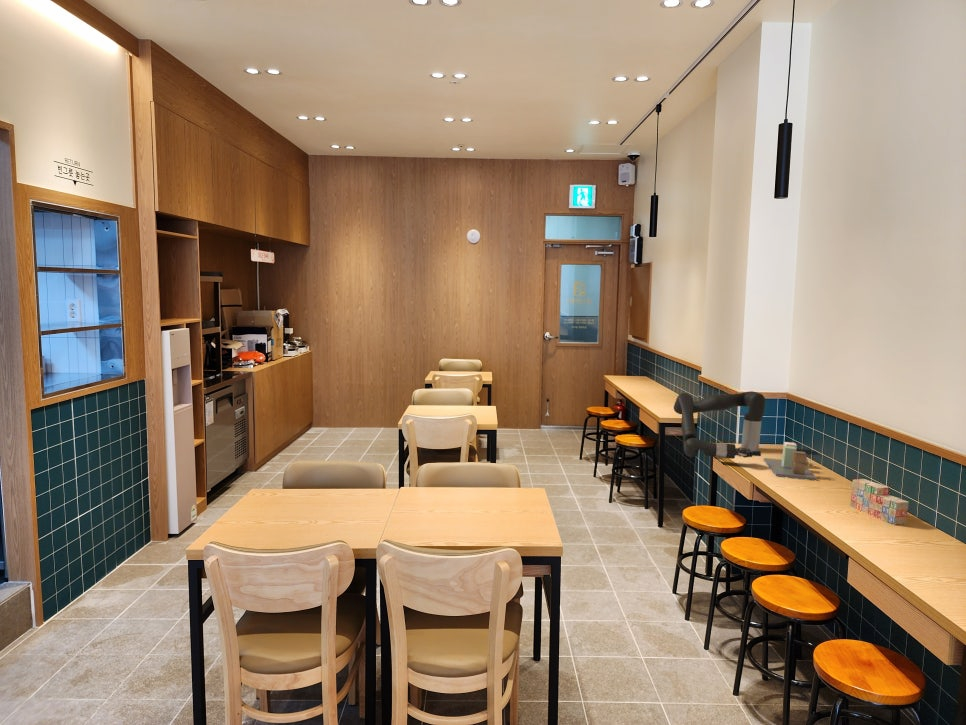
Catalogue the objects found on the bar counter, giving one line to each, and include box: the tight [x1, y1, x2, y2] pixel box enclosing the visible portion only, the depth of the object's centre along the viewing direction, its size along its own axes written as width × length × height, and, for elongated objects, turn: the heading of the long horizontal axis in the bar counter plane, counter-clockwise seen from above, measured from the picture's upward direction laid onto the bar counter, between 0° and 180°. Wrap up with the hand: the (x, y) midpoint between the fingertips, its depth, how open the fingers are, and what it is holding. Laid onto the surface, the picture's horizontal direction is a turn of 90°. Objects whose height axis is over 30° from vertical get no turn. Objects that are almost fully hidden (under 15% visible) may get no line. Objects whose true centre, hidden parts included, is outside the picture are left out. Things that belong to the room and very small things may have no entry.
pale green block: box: [781, 445, 797, 468], centre depth 326 cm, size 5×5×10 cm
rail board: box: [763, 457, 817, 481], centre depth 326 cm, size 31×18×2 cm, turn 167°
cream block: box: [783, 441, 798, 449], centre depth 335 cm, size 5×5×10 cm
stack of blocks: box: [849, 478, 910, 525], centre depth 262 cm, size 21×6×12 cm, turn 16°
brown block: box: [791, 450, 808, 474], centre depth 315 cm, size 5×5×10 cm
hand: (760, 453), depth 329 cm, fingers closed
